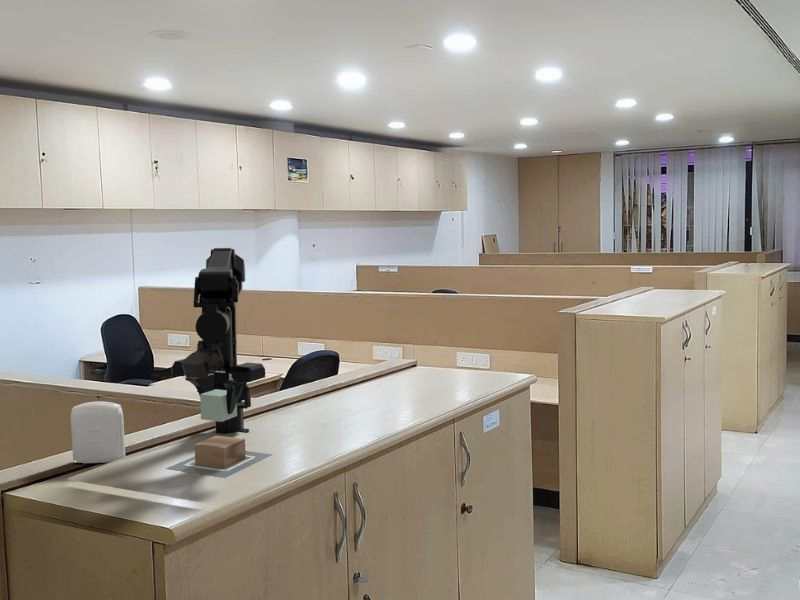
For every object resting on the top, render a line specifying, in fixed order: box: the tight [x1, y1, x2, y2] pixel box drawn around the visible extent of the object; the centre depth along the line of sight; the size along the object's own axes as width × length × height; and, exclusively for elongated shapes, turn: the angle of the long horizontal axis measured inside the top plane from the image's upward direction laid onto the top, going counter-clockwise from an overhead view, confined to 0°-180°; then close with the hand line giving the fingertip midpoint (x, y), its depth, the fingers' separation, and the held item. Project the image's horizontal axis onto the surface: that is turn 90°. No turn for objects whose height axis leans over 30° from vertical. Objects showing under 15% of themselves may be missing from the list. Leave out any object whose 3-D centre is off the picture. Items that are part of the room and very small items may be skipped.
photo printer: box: [70, 400, 126, 464], centre depth 158 cm, size 10×4×12 cm, turn 96°
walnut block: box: [194, 435, 246, 468], centre depth 154 cm, size 7×7×4 cm
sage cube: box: [199, 389, 237, 422], centre depth 154 cm, size 5×5×5 cm
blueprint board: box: [165, 450, 273, 479], centre depth 155 cm, size 16×14×1 cm
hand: (219, 412), depth 154 cm, fingers closed on sage cube, 5 cm apart
